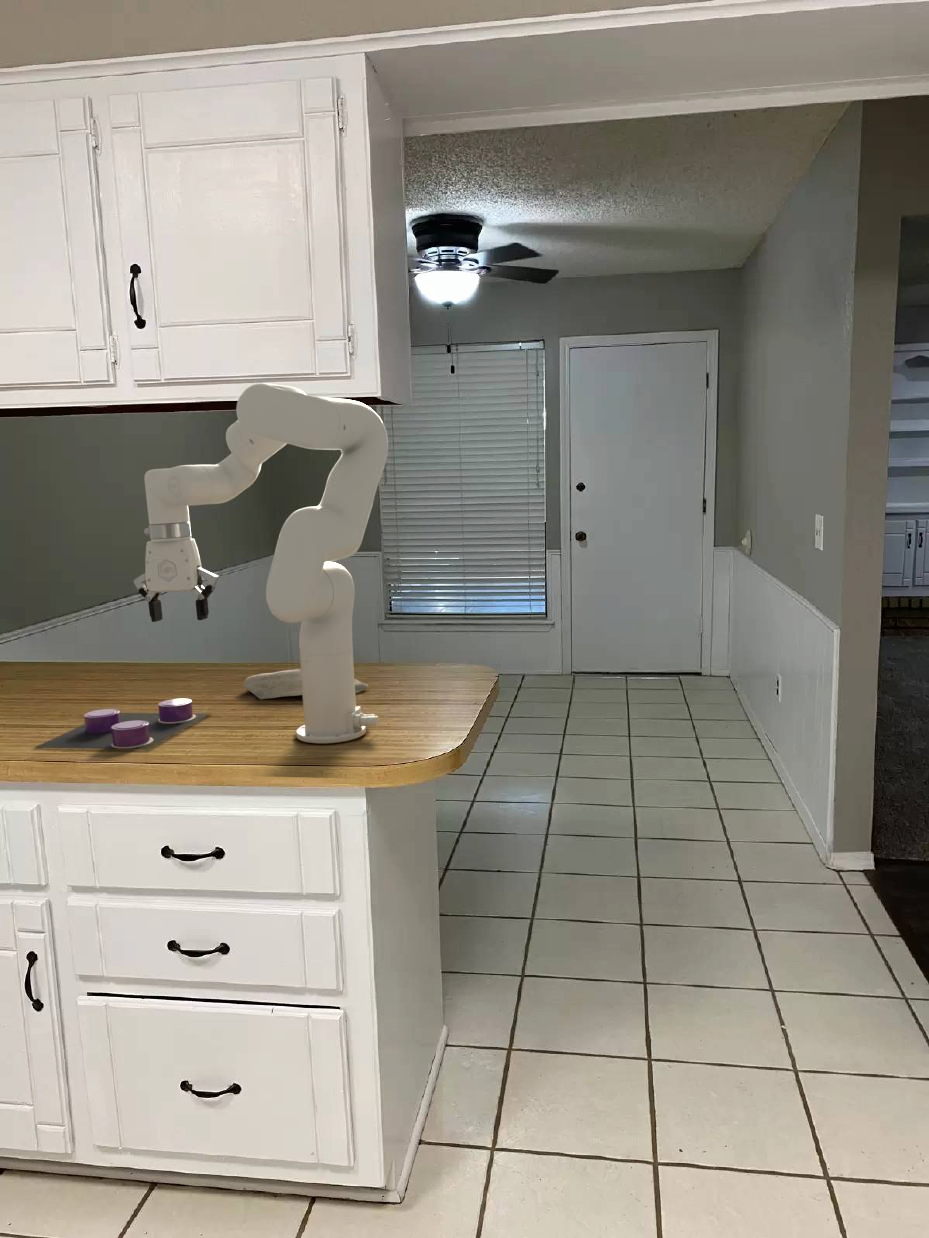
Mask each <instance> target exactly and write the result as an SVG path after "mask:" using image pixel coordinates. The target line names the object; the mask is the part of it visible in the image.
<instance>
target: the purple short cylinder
mask: <svg viewBox="0 0 929 1238" xmlns="http://www.w3.org/2000/svg"><path fill="white" fill-rule="evenodd" d="M111 732H112V742H113V745H114V746H116V747H132V746H138V745H142V744H145V743H147V742H149V741H150V732H149V723H148V722H147V721H142V720H135V721H126V722H121V723H118V724H115V725H113V726H112V727H111Z"/></svg>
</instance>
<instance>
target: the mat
mask: <svg viewBox="0 0 929 1238" xmlns="http://www.w3.org/2000/svg"><path fill="white" fill-rule="evenodd" d="M209 715H210V714H209V713H193V717H192V718H191V719H188V720H185V721H179V722H162V721H160V719H159V712H158V713H157V712H155V713H152V712H150V713H149V712H120V722H126V721H135V720H142V721H147V722H148V723H149V732H150V741H149V742H147V743H145V744H142V745H138V746H132V747H116V746H114V745H113V742H112V732H108V733H101V734H90V733H86V732H85V724H82V725H81V726H78V727H77V728H74V729H72V730H69V731H67V732H65V733H63V734H61V735H59V736H57V737H54V738H52V739H50V740H48V741H46V742H43V743H42V744H39V745H37V746H36V748H38V749H39V748H41V749H42V748H43V749H44V748H46V749H48V748H49V749H91V750H92V749H93V750H95V749H98V750H99V749H100V750H143V751H144V750H149V749H150V748H152V747H154V746H156V745H157V744H159V743H161V742H163V741H165V740H166V739H168V738H170V737H171V736H174V735H175V734H176V733H179V732H180V731H182V730H184V729H185V728H187V727H189V726H191V725H192V724H195V723H196V722H199V721H200V720H202V719H204V718H205V717H207V716H209Z"/></svg>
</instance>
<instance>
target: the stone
mask: <svg viewBox="0 0 929 1238" xmlns="http://www.w3.org/2000/svg"><path fill="white" fill-rule="evenodd" d="M354 680H355V694H359V693H361V692H363V691H365V690H366V689H368V688H369V685H368V683H365V682H362V681H359V680H357V679H356V678H354ZM242 687H243V688H245V689H246V690H248V691H249V692H250V693H252V694H253V695H254V696H256V698H258V699H259V700H266V699H275V698H282V697H295V696H303V695H302V680H301V668H298V669H287V670H281V671H280V670H279V671H274V672H265V673H258V674H255V675H251V676H248V677H246V678H245V679H244V681H243V685H242Z"/></svg>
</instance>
